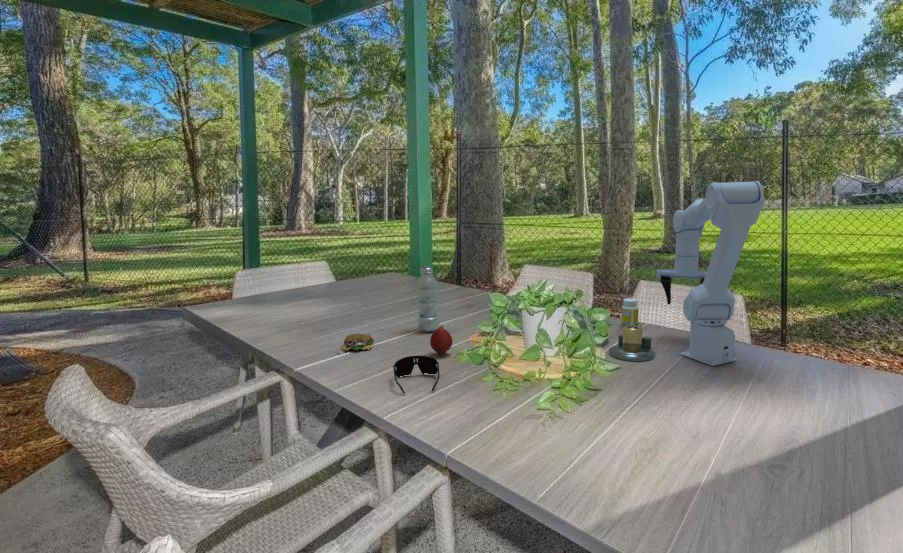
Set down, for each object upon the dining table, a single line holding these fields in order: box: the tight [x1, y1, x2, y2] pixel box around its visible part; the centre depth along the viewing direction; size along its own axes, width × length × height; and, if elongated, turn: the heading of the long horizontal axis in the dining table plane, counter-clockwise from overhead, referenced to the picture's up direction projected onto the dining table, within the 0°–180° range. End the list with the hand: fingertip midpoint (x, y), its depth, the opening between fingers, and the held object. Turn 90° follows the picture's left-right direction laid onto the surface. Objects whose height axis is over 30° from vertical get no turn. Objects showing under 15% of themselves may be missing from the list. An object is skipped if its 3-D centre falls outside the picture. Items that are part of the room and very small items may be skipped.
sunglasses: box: [392, 355, 440, 394], centre depth 110 cm, size 10×12×5 cm
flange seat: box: [608, 334, 656, 363], centre depth 124 cm, size 11×11×3 cm
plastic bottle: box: [416, 266, 440, 333], centre depth 150 cm, size 6×7×20 cm
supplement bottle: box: [621, 298, 640, 327], centre depth 149 cm, size 5×5×8 cm
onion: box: [429, 324, 453, 355], centre depth 128 cm, size 6×6×8 cm
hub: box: [622, 325, 643, 353], centre depth 125 cm, size 5×5×6 cm
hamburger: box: [342, 333, 375, 351], centre depth 136 cm, size 14×14×6 cm
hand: (684, 304), depth 134 cm, fingers open, 7 cm apart
